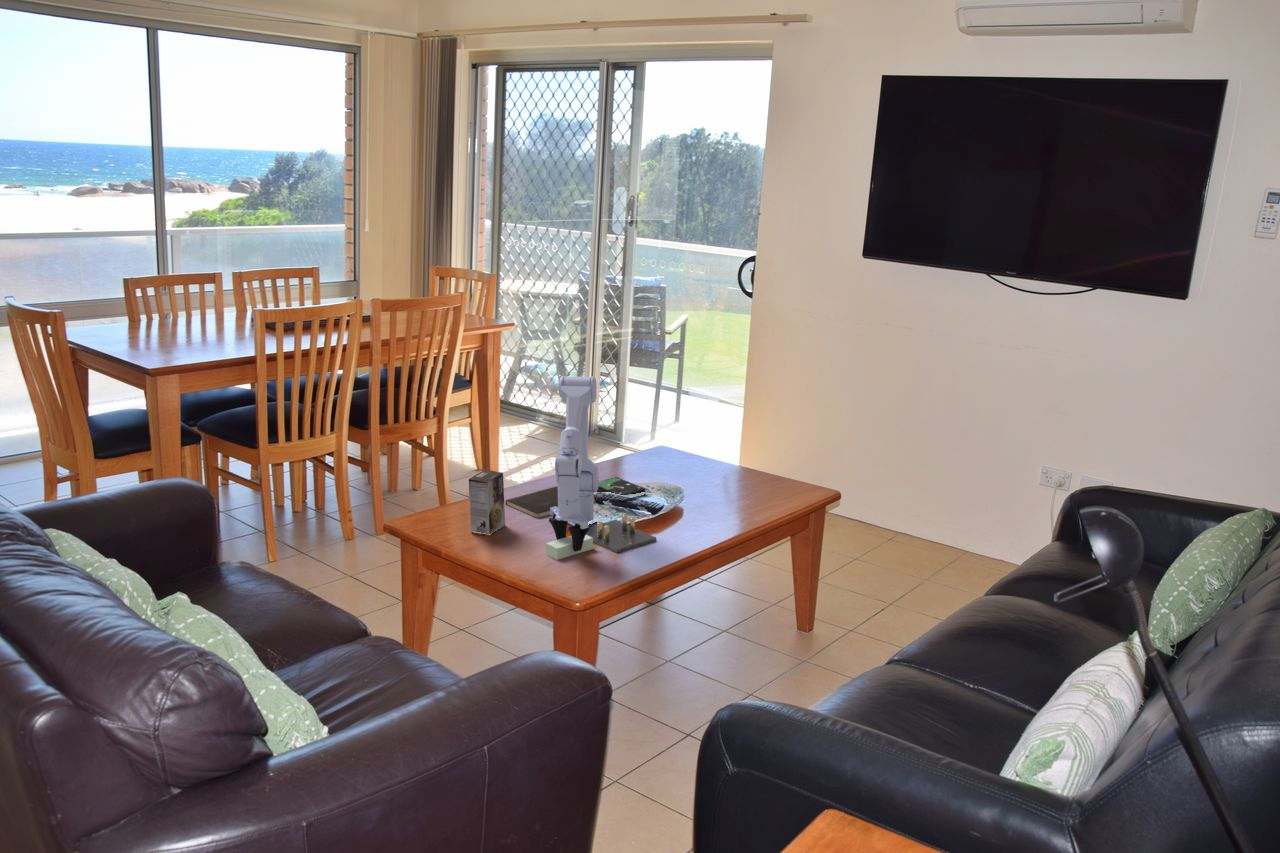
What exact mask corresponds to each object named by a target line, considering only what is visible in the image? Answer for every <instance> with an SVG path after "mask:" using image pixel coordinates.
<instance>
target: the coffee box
mask: <svg viewBox="0 0 1280 853" xmlns="http://www.w3.org/2000/svg"><path fill="white" fill-rule="evenodd" d="M468 491H469V492H468V494H469V496H468V497H469V513H470V514H469V515H470V532H471V531H476V532H481V533H486V534H491V533H493V532H495V531H496V532H498V531H499V530H500V529H501V528H503V527H505V526H506V517H505V516H506V514H505V492H504V491H505V489H504V472H500V471H495V470H488V469H483V470H481V471H480V472H478V473H476V474H474V475H473V476H471V477H469V478H468ZM498 529H499V530H498ZM496 532H495V533H496ZM493 534H494V533H493Z"/></svg>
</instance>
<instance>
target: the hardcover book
mask: <svg viewBox="0 0 1280 853" xmlns="http://www.w3.org/2000/svg"><path fill="white" fill-rule="evenodd" d="M596 495H597V494H594V498H595V497H596ZM596 498H597V497H596ZM505 505H506V506H509V507H511V508H514V509H516V510H518V511H520V512H523V513H525V514H528V515H530V516H532V517H533V518H534V517H535V518H537V519H538V518H542V517H546V516H549V515H551V514H550V508H552V507H555V506H556V507H558V485H557V486H554V487H549V488H545V489H542V490H539V491H534V492H531V493H526V494H524V495H520V496H516V497H512V498H509V499H505Z"/></svg>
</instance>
